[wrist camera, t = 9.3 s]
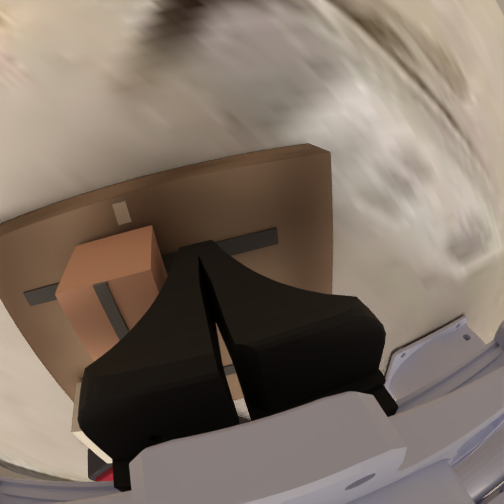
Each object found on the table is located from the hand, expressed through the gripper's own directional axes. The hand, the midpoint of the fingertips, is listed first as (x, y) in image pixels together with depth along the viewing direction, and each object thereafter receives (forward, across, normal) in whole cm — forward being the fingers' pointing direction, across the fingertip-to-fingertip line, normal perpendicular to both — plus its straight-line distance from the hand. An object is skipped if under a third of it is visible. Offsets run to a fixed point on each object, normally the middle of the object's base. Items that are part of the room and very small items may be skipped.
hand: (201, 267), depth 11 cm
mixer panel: (+3, +2, +4) cm, 5 cm away
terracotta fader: (+1, +3, 0) cm, 3 cm away
